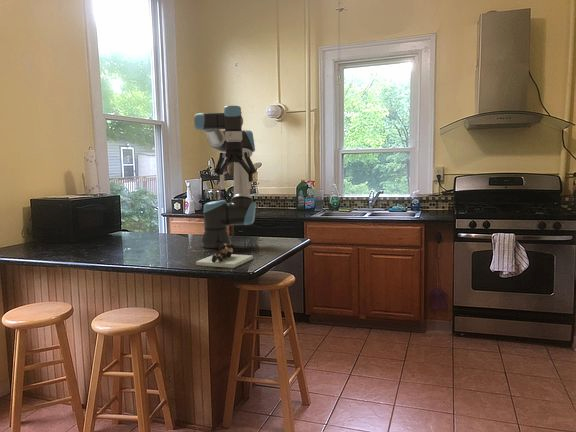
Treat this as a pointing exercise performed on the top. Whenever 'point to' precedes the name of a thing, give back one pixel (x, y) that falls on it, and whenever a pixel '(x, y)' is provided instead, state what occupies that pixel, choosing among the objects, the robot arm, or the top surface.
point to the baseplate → (226, 261)
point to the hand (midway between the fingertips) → (235, 189)
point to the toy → (222, 253)
